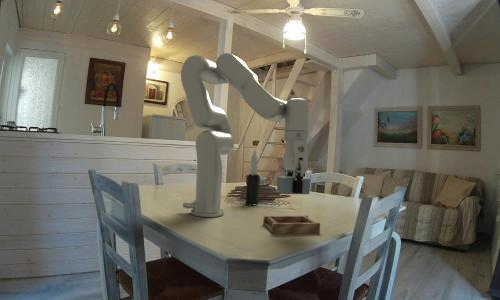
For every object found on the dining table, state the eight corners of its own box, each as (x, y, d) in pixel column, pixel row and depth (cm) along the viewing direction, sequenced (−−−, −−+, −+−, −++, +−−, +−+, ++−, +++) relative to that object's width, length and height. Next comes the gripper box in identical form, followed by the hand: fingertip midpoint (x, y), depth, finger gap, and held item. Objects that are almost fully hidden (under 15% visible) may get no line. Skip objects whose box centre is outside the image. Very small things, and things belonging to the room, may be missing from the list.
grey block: (283, 194, 93) (284, 177, 93) (276, 191, 99) (277, 175, 99) (309, 194, 96) (310, 178, 96) (301, 191, 101) (302, 176, 101)
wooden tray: (272, 233, 91) (272, 224, 91) (263, 224, 101) (263, 215, 101) (319, 232, 95) (320, 223, 95) (306, 224, 104) (307, 215, 104)
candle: (259, 203, 136) (262, 149, 136) (255, 205, 131) (258, 149, 131) (248, 202, 138) (251, 149, 137) (245, 204, 133) (247, 149, 133)
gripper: (318, 136, 90) (315, 195, 90) (296, 137, 106) (293, 187, 107) (295, 135, 88) (292, 195, 88) (276, 136, 105) (274, 187, 105)
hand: (293, 190), depth 97 cm, fingers closed on grey block, 6 cm apart
